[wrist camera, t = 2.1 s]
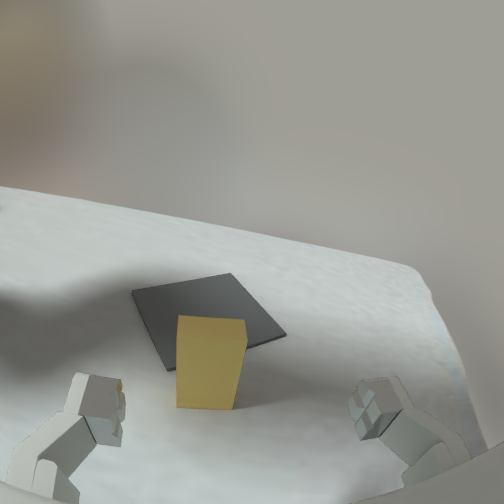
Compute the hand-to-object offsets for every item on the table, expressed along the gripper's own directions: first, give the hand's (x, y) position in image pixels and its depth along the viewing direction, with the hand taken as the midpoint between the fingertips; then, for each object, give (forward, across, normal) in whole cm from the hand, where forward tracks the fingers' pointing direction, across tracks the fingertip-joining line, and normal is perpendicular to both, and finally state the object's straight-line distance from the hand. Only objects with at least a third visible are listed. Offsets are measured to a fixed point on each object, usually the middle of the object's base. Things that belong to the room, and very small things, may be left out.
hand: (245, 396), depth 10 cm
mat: (+25, 0, +17) cm, 30 cm away
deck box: (+12, 0, +17) cm, 21 cm away
